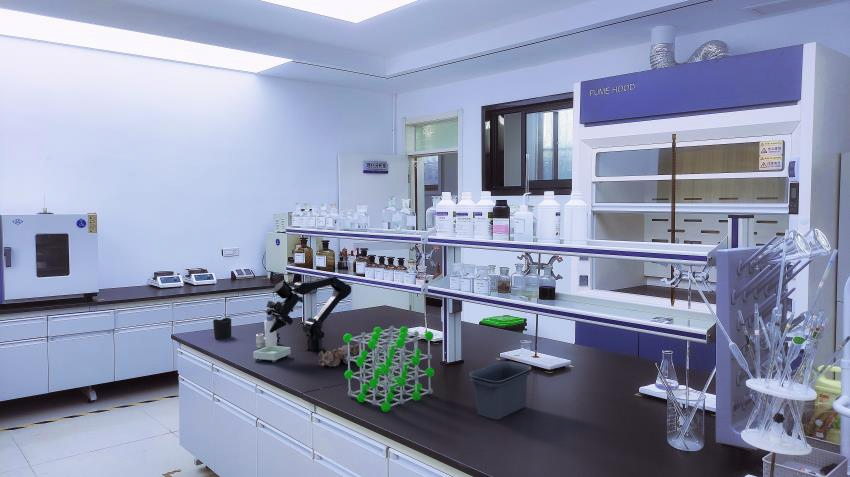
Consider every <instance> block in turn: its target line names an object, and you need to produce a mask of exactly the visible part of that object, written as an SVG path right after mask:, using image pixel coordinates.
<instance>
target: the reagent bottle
mask: <svg viewBox="0 0 850 477" xmlns="http://www.w3.org/2000/svg"><path fill="white" fill-rule="evenodd" d="M275 321H276V319H273V315H269V316H268V315H266V319H264V321H263V323H264V337H265V343H264V344H265V345H264V347H274V346H278V343H277V335H276V331H277V330H276V331H274V332H272V333H270V329H271V328H272V326H273V324H274V323H275Z"/></svg>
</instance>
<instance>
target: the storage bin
mask: <svg viewBox="0 0 850 477" xmlns="http://www.w3.org/2000/svg"><path fill="white" fill-rule="evenodd" d="M531 369H532V366H531V365H528V364H523V363H520V362H515V361H508V360H507V361H505V360H504V361H499V362H496V363H494V364H490V365H487V366H485V367H482V368H479V369H476V370H473V371H471V372H469V376H470V382H472V383H473V384H474V390H475V391H474V393H475V400H476V409H477V410H476V411H477V414H478V415H480V416H481V417H485V418H489V419H491V420H495V421H497V420H501V419H503V418H505V417H507V416H509V415H510V414H513V413H515V412H517V411H520V410H521V409H523V408H526V405H527V404H526V403H527V386H528V376H530V375H531V373H532V372H531Z"/></svg>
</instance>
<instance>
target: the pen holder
mask: <svg viewBox="0 0 850 477" xmlns="http://www.w3.org/2000/svg"><path fill="white" fill-rule="evenodd" d="M212 324H213V333H214V339H215V340H226V339H229V338H232V318H231V317H223V318H222V319H213V320H212Z"/></svg>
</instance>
